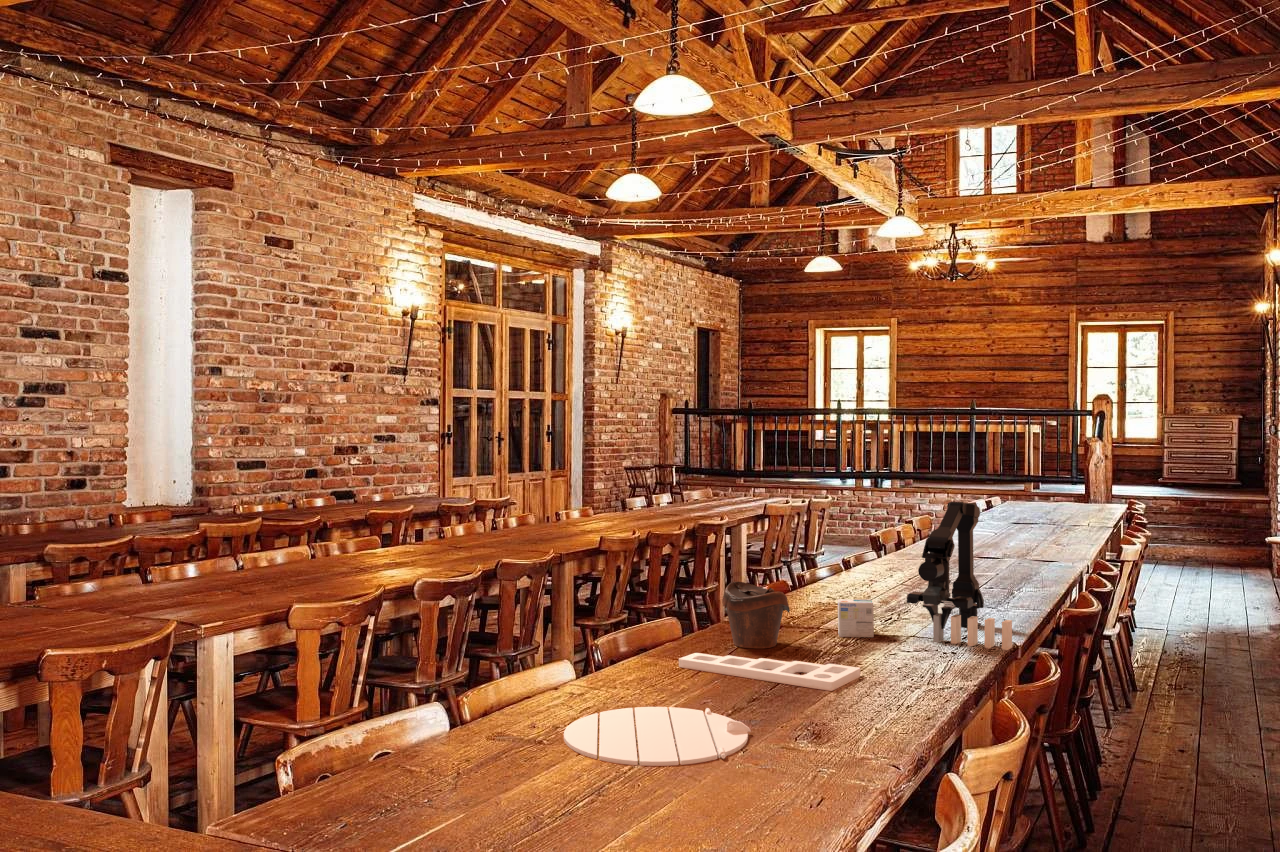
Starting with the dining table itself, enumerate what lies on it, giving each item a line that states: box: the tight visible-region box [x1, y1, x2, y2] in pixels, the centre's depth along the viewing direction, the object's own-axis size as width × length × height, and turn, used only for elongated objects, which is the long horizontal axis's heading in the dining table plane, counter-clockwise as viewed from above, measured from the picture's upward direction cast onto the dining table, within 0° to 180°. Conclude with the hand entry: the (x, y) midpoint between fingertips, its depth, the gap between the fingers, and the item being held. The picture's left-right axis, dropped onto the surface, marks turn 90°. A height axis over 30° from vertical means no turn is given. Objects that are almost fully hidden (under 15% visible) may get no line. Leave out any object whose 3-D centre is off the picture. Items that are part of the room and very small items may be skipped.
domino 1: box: [932, 612, 945, 643], centre depth 323 cm, size 4×2×8 cm, turn 145°
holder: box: [678, 652, 861, 692], centre depth 286 cm, size 45×18×3 cm, turn 55°
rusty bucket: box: [721, 581, 791, 650], centre depth 319 cm, size 18×20×18 cm
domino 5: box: [1001, 619, 1013, 651], centre depth 313 cm, size 4×2×8 cm, turn 145°
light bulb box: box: [837, 598, 875, 638], centre depth 332 cm, size 11×7×11 cm, turn 84°
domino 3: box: [967, 616, 979, 647], centre depth 318 cm, size 4×2×8 cm, turn 145°
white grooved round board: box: [563, 706, 752, 767], centre depth 230 cm, size 40×39×3 cm
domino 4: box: [984, 617, 996, 649], centre depth 316 cm, size 4×2×8 cm, turn 145°
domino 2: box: [950, 613, 962, 645], centre depth 321 cm, size 4×2×8 cm, turn 145°
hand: (939, 628), depth 324 cm, fingers closed on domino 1, 2 cm apart
